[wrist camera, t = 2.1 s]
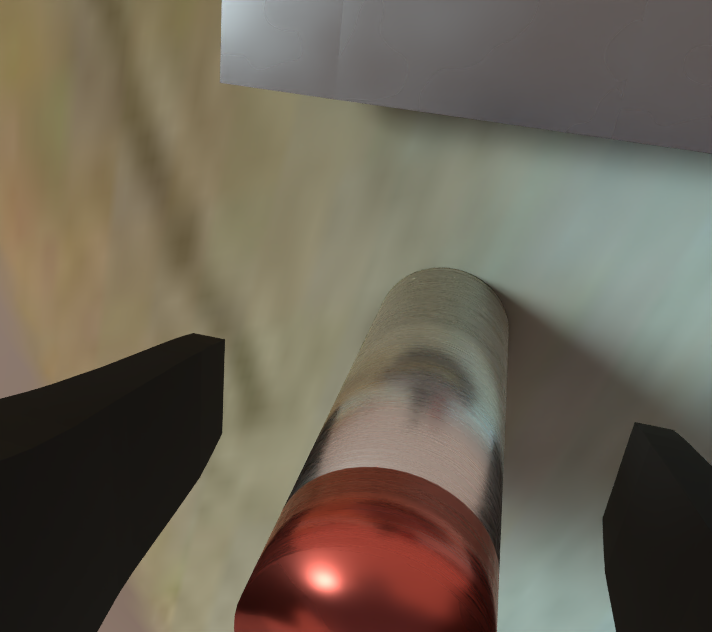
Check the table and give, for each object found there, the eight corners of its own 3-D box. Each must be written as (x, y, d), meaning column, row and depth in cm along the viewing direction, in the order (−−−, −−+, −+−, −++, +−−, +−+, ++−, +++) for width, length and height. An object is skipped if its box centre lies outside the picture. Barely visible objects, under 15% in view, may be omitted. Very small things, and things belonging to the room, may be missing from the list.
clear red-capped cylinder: (533, 352, 15) (546, 716, 7) (422, 405, 17) (329, 769, 9) (464, 243, 15) (397, 513, 7) (353, 306, 16) (184, 599, 8)
